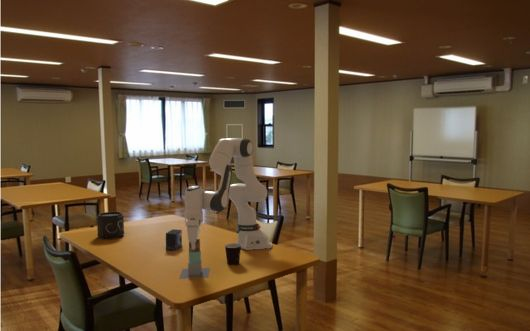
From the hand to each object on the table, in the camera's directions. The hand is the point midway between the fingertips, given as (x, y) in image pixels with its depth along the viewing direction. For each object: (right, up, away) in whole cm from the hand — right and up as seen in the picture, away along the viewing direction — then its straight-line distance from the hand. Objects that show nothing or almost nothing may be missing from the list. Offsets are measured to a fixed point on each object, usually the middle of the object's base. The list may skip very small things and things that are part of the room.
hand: (194, 246), depth 199 cm
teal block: (0, -8, +1) cm, 8 cm away
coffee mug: (+19, -13, +18) cm, 29 cm away
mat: (0, -14, +1) cm, 14 cm away
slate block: (0, -14, +1) cm, 14 cm away
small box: (-21, -11, +46) cm, 52 cm away
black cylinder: (-70, -9, +76) cm, 103 cm away
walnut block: (0, -2, 0) cm, 2 cm away
